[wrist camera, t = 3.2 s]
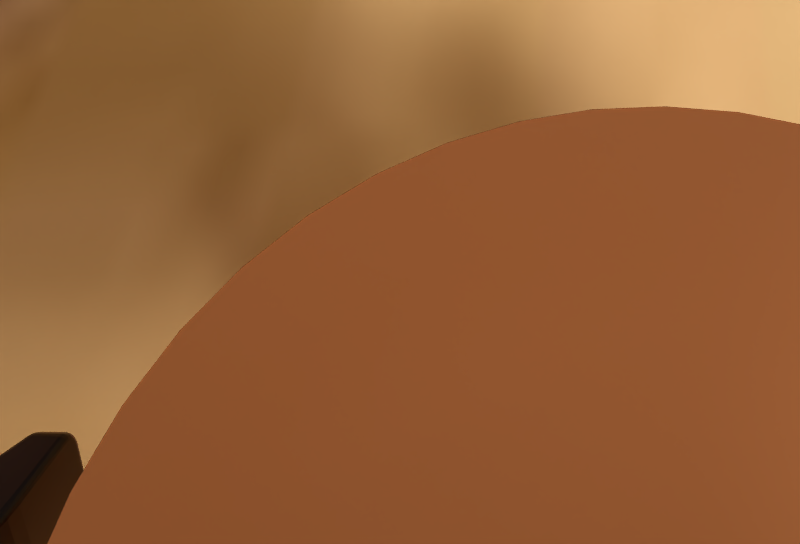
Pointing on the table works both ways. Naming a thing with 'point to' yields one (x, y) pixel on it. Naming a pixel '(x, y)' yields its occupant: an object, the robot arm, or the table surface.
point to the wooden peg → (492, 355)
